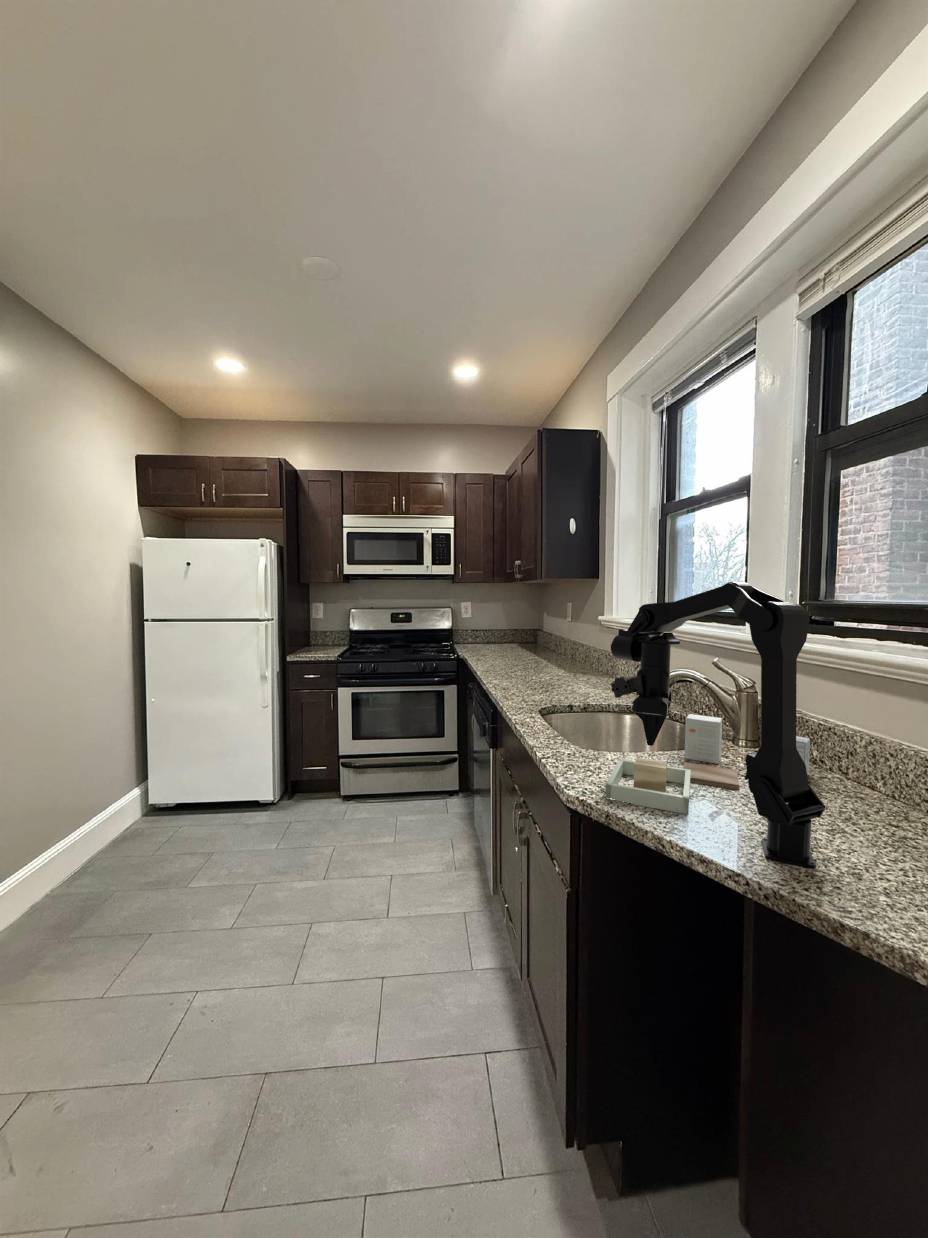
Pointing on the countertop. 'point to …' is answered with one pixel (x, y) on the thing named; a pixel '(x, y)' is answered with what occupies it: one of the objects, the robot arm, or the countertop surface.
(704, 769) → the walnut board
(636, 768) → the pine block
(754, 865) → the countertop surface
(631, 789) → the sage bin
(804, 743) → the medicine box
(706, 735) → the small box
